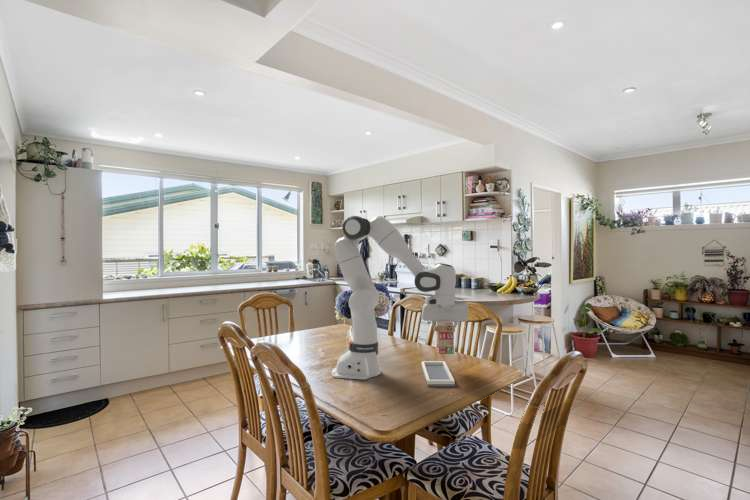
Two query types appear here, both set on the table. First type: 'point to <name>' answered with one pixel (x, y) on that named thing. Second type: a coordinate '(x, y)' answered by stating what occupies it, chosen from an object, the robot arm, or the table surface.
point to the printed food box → (445, 337)
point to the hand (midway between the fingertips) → (444, 331)
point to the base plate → (437, 374)
